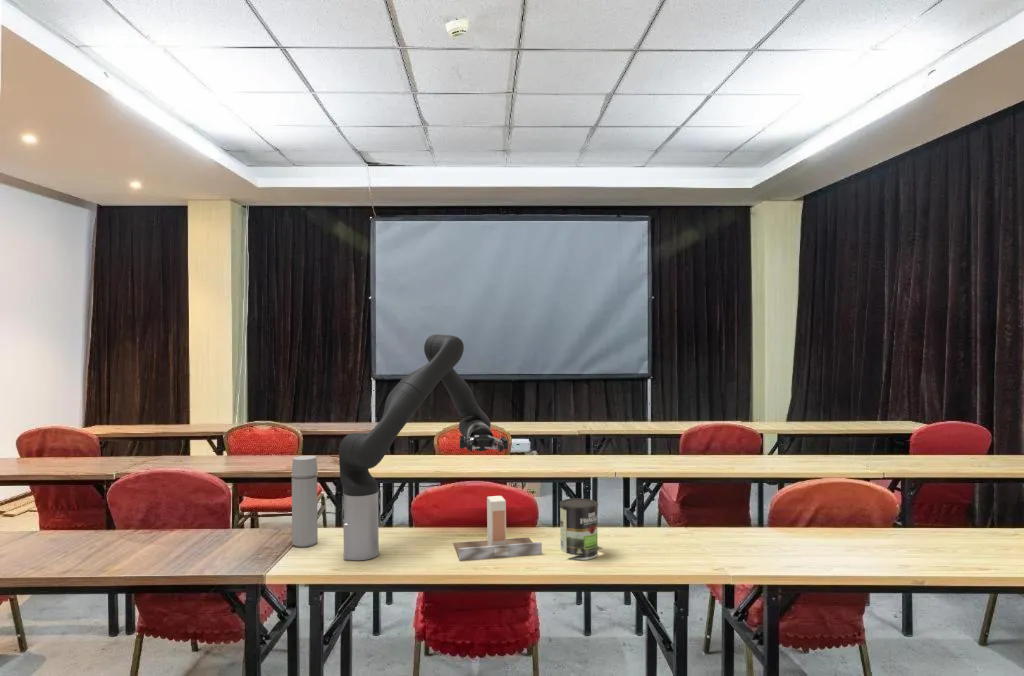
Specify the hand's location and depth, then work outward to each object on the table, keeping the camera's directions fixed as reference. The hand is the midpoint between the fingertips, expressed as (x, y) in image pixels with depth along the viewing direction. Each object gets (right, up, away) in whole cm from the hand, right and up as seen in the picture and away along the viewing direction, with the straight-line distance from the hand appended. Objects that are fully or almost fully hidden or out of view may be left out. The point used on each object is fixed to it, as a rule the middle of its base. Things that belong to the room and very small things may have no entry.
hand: (486, 448), depth 187 cm
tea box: (+3, -26, -10) cm, 28 cm away
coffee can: (+26, -27, -9) cm, 39 cm away
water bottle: (-52, -28, +3) cm, 60 cm away
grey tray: (+3, -27, -9) cm, 29 cm away
